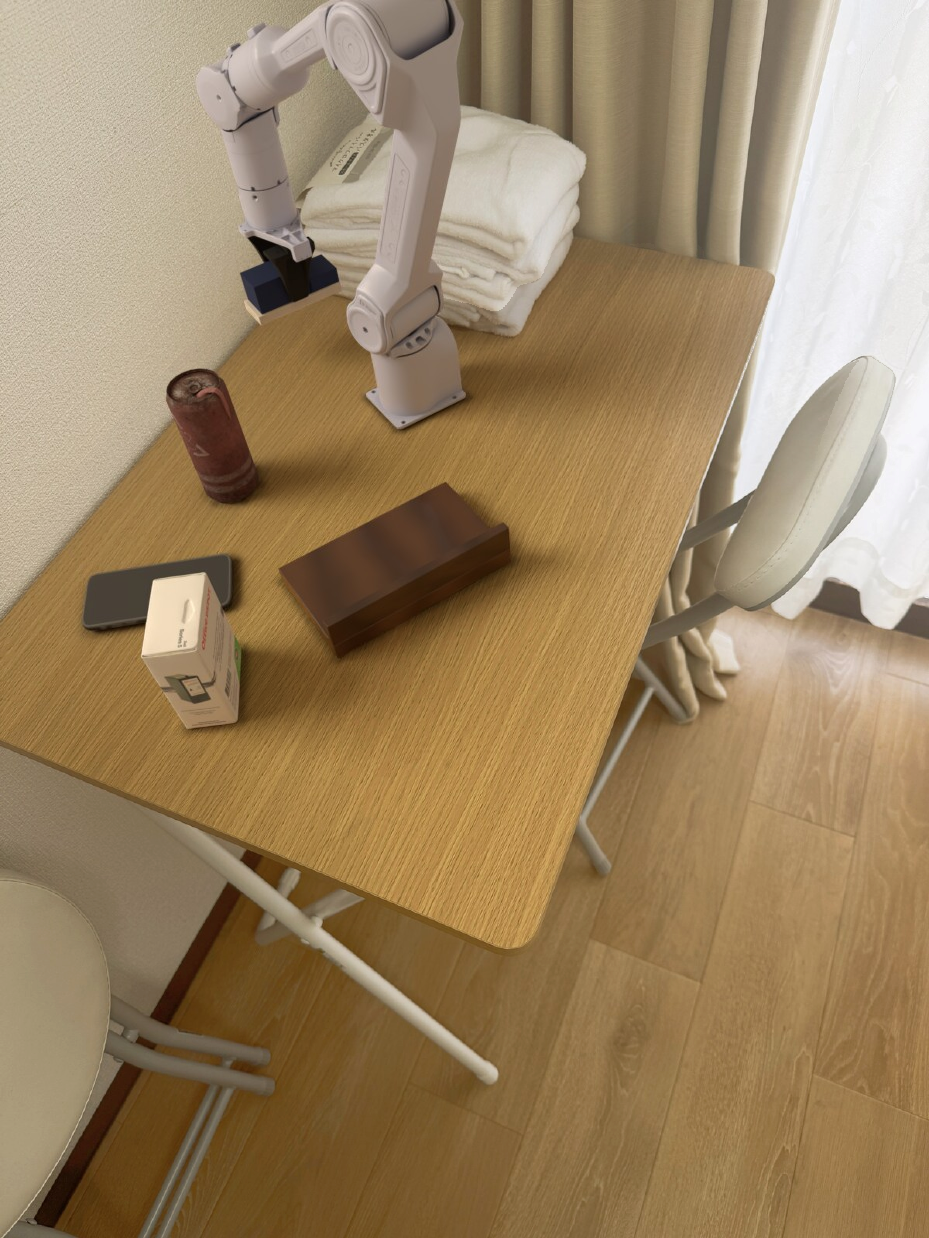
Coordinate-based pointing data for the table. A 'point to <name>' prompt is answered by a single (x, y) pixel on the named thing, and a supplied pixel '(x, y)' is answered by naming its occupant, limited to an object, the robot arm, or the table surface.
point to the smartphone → (147, 589)
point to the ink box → (193, 650)
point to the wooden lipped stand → (394, 567)
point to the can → (212, 434)
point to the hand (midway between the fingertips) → (291, 289)
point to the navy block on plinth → (271, 294)
